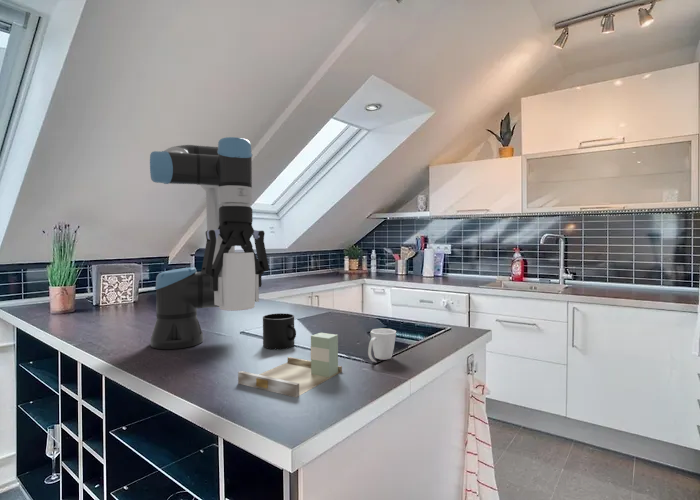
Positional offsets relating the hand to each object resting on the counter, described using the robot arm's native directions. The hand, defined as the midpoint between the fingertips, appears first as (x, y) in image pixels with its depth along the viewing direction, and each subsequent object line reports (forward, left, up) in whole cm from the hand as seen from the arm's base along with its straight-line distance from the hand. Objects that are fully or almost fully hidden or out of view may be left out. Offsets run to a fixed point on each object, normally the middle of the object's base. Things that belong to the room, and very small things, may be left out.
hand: (237, 303), depth 95 cm
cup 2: (+24, +27, -18) cm, 40 cm away
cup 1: (0, 0, -3) cm, 3 cm away
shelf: (+12, +5, -18) cm, 22 cm away
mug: (-9, +27, -18) cm, 33 cm away
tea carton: (+17, +11, -17) cm, 27 cm away
